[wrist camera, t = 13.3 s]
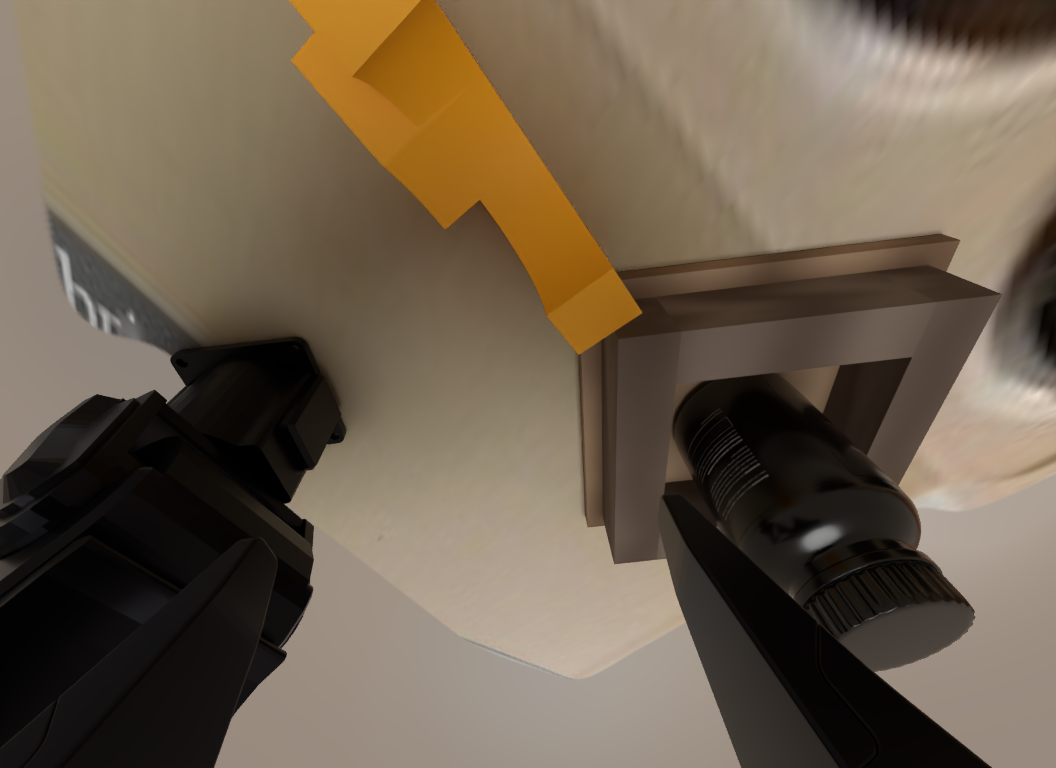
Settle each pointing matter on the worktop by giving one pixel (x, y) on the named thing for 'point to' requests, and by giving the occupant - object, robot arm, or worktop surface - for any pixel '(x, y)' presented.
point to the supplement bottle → (819, 519)
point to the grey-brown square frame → (772, 362)
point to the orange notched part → (458, 147)
